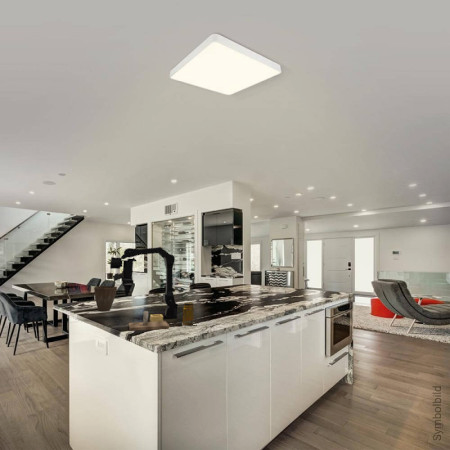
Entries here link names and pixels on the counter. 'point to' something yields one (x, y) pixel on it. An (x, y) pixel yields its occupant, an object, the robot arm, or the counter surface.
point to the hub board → (148, 324)
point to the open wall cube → (156, 318)
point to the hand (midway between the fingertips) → (126, 294)
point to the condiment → (188, 314)
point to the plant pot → (104, 297)
